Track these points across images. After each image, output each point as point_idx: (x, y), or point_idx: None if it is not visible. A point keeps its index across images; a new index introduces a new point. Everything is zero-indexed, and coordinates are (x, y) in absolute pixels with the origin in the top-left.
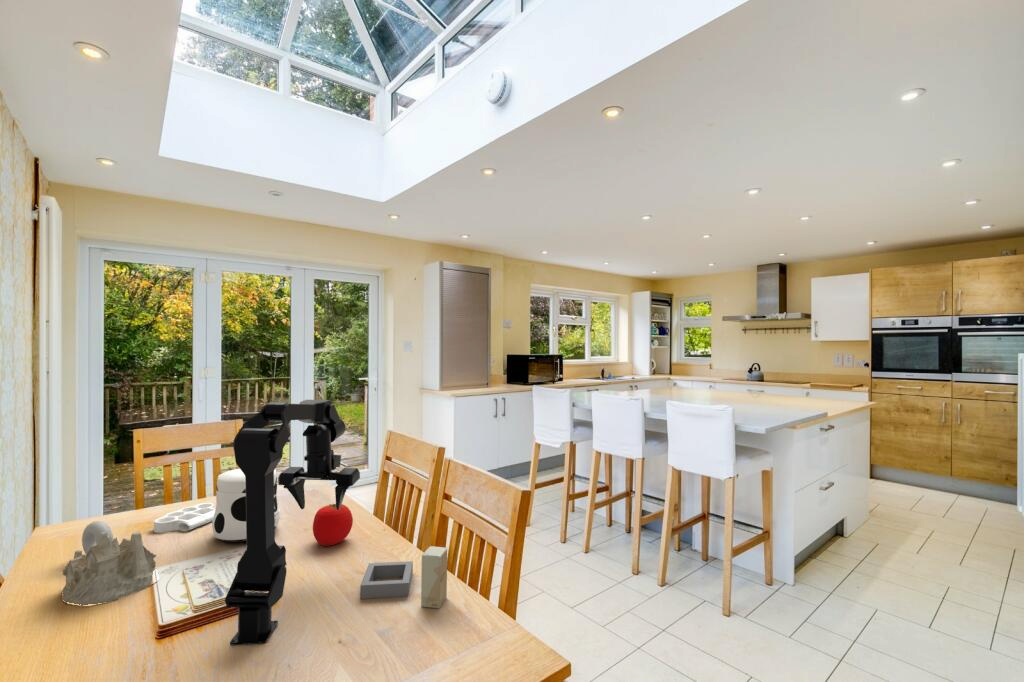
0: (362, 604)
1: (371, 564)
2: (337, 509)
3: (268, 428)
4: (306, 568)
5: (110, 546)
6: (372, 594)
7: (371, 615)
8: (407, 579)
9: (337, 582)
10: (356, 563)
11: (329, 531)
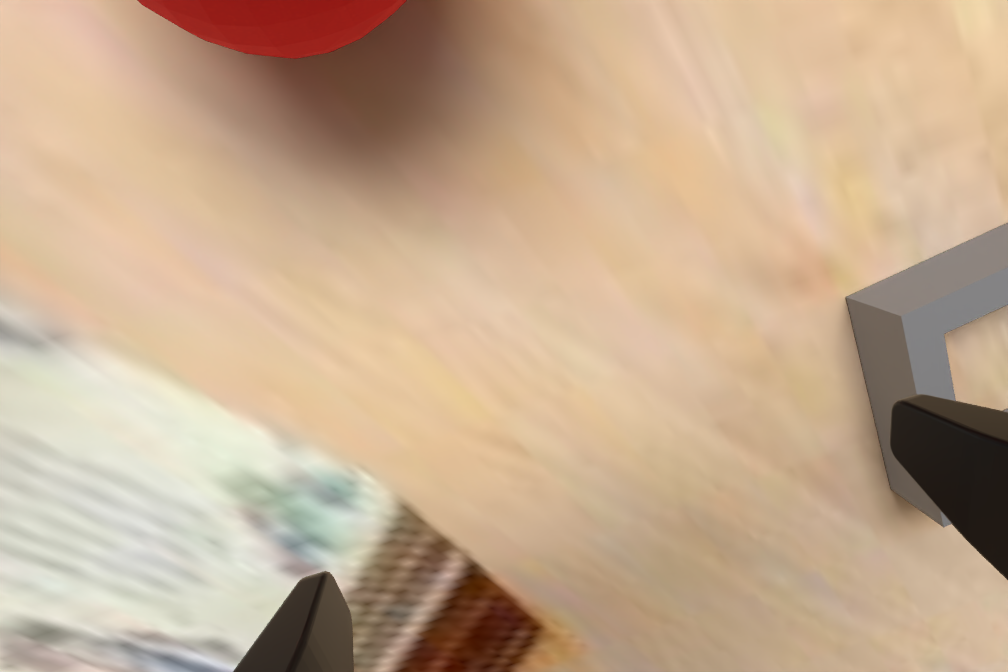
0: (914, 515)
1: (921, 322)
2: (911, 464)
3: None
4: (442, 346)
5: None
6: None
7: (975, 559)
8: None
9: (715, 411)
10: (706, 185)
11: (379, 17)
